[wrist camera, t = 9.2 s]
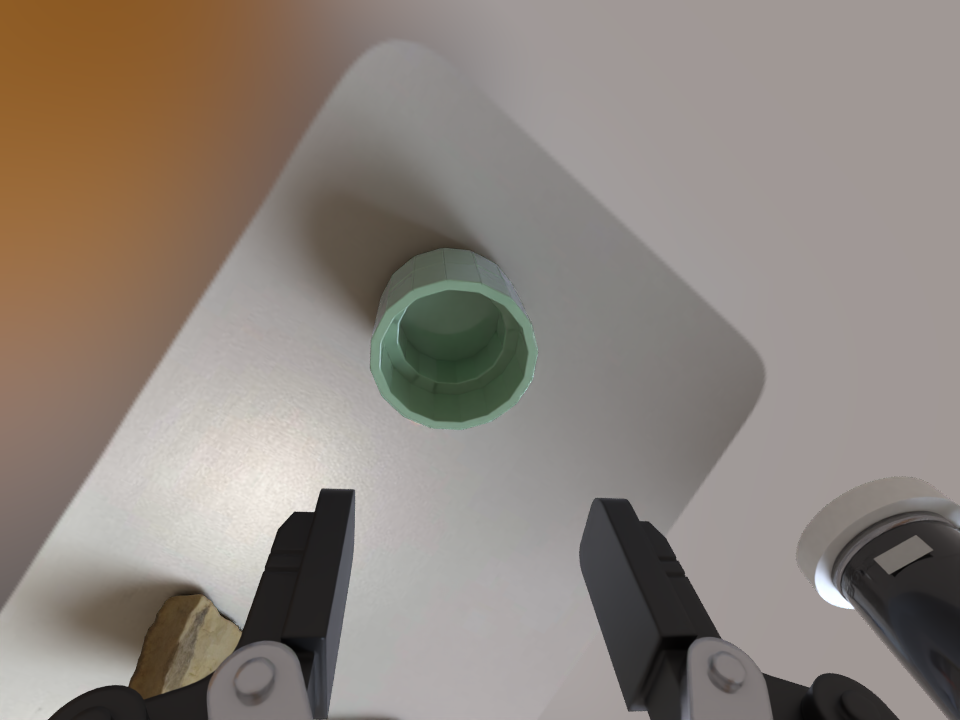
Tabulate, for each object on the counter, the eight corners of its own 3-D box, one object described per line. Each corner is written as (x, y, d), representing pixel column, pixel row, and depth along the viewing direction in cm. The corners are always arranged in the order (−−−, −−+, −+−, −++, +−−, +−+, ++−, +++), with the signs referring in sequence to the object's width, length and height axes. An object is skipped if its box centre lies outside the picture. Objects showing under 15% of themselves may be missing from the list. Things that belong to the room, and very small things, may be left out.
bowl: (526, 253, 23) (550, 288, 19) (506, 376, 26) (522, 433, 21) (383, 238, 22) (372, 272, 18) (378, 368, 25) (368, 425, 20)
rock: (92, 609, 27) (78, 741, 30) (134, 749, 22) (113, 893, 25) (285, 551, 35) (261, 659, 38) (350, 643, 30) (316, 761, 33)
